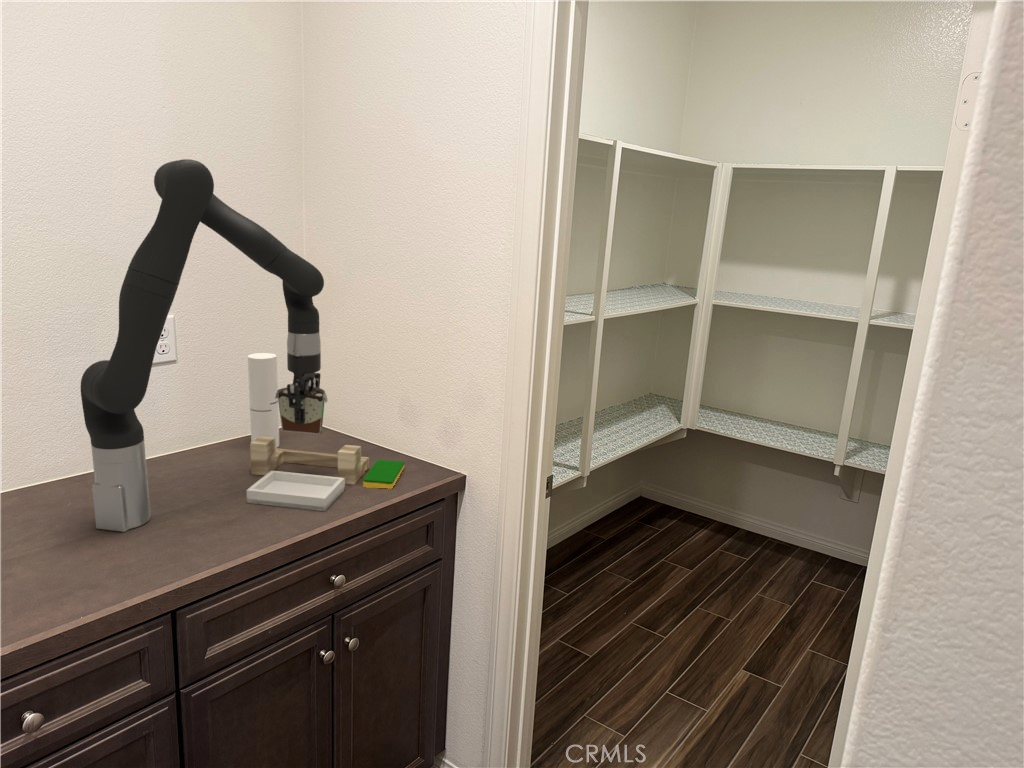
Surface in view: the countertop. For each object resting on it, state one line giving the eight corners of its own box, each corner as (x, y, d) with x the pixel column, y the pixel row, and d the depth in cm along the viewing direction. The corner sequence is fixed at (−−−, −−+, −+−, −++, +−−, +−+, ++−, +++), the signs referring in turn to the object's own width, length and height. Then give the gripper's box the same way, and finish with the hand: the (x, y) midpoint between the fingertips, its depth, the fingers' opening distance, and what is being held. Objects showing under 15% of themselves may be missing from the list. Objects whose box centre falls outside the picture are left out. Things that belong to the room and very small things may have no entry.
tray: (324, 511, 152) (324, 498, 151) (247, 502, 154) (246, 490, 153) (344, 489, 163) (344, 477, 163) (272, 482, 165) (271, 470, 165)
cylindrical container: (285, 445, 190) (282, 355, 184) (263, 452, 184) (259, 360, 178) (267, 439, 194) (264, 351, 187) (245, 446, 188) (241, 355, 182)
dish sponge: (404, 470, 179) (405, 461, 178) (392, 491, 165) (392, 481, 165) (377, 468, 179) (377, 459, 178) (362, 488, 166) (362, 479, 165)
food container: (335, 427, 170) (335, 387, 168) (326, 435, 164) (325, 394, 162) (287, 422, 171) (285, 383, 169) (276, 430, 165) (274, 390, 163)
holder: (354, 484, 167) (353, 453, 165) (251, 473, 170) (250, 443, 168) (368, 468, 177) (368, 438, 175) (271, 458, 180) (270, 429, 178)
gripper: (301, 344, 170) (302, 410, 174) (274, 355, 156) (276, 427, 160) (331, 346, 169) (331, 413, 173) (306, 358, 155) (307, 430, 159)
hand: (304, 419), depth 167 cm, fingers closed on food container, 5 cm apart
